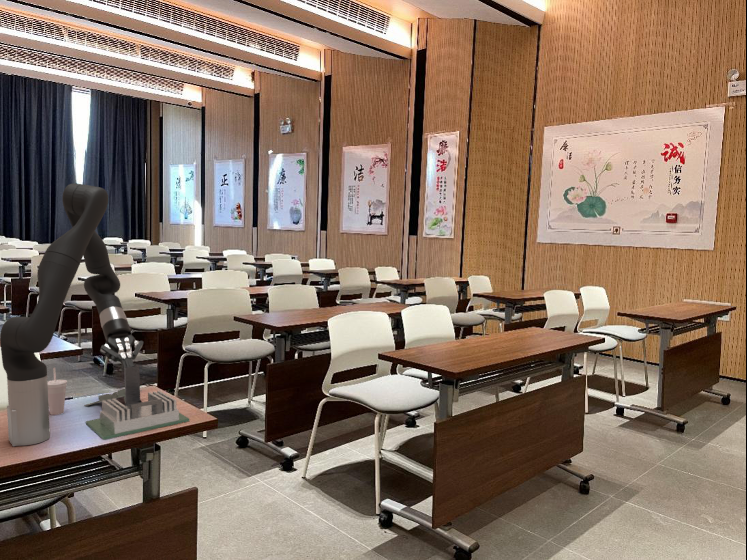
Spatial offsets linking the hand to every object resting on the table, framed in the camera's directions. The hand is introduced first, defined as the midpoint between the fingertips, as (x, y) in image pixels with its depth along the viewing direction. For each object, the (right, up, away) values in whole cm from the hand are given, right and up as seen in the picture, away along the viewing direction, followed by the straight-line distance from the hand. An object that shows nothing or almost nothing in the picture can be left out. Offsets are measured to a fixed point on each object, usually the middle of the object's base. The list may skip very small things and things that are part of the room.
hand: (129, 370), depth 176 cm
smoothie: (-25, -14, +5) cm, 29 cm away
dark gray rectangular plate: (+1, -10, -1) cm, 10 cm away
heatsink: (+4, -15, -3) cm, 16 cm away
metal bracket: (-11, -14, +17) cm, 24 cm away
